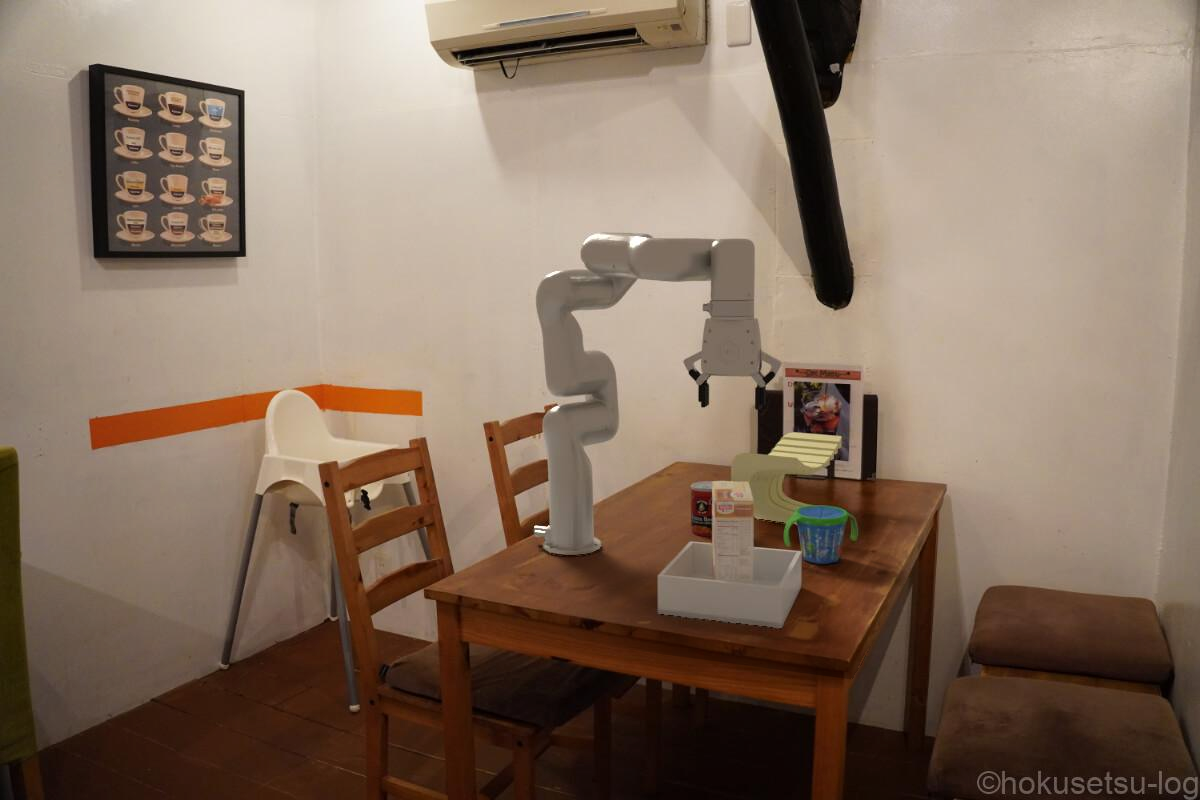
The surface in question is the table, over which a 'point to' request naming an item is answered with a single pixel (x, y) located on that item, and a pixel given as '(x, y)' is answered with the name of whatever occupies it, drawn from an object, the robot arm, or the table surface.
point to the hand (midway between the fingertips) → (731, 407)
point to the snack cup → (821, 532)
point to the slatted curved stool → (783, 471)
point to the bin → (730, 587)
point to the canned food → (701, 508)
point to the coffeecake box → (732, 532)
